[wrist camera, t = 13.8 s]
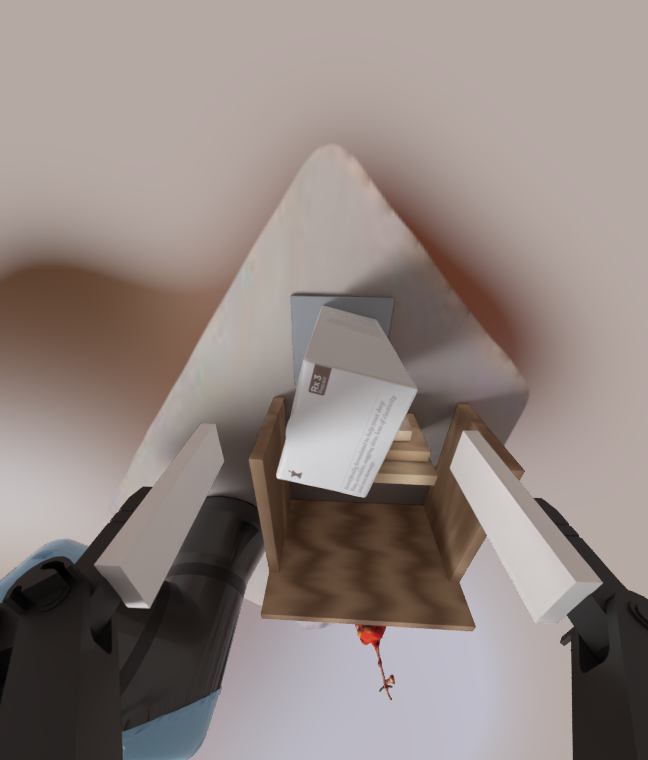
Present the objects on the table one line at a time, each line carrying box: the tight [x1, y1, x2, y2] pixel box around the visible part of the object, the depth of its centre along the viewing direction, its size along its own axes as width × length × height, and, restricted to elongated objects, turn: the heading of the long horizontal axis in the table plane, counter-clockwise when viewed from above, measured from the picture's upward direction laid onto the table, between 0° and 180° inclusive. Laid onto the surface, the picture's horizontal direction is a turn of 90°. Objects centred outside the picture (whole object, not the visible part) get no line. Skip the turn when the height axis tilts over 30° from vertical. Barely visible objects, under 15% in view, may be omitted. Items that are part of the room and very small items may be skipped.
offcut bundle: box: [373, 414, 437, 485], centre depth 27 cm, size 12×5×8 cm, turn 89°
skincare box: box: [276, 306, 418, 497], centre depth 19 cm, size 8×6×15 cm
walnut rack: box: [249, 397, 525, 631], centre depth 28 cm, size 23×21×14 cm
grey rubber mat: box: [291, 295, 394, 386], centre depth 26 cm, size 10×10×1 cm
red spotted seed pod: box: [355, 624, 395, 700], centre depth 45 cm, size 8×7×15 cm
